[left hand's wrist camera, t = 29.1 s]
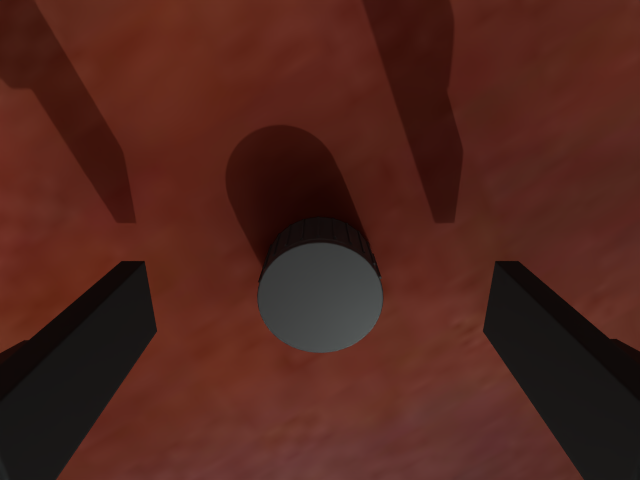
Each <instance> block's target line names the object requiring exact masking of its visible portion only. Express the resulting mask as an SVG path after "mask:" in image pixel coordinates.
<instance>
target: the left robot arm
mask: <svg viewBox="0 0 640 480" xmlns="http://www.w3.org/2000/svg"><path fill="white" fill-rule="evenodd" d="M156 332H157V328H156V323H155V317H154V312H153V306H152V300H151V295H150V289H149V283H148V278H147V272H146V267H145V261H121V262H120V263H119V264H118V265H117V266H115V267H114V268H113V269H112V270H111V271H110V272H108V273H107V274H106V275H105V276H104V277H102V278H101V279H100V280H99V281H98V282H97V283H95V284H94V285H93V286H92V287H91V288H90V289H88V290H87V291H86V292H85V293H84V294H83V295H81V296H80V297H79V298H78V299H77V300H76V301H74V302H73V303H72V304H71V305H70V306H68V307H67V308H66V309H65V310H64V311H63V312H61V313H60V314H59V315H58V316H57V317H56V318H54V319H53V320H52V321H51V322H50V323H49V324H47V325H46V326H45V327H44V328H43V329H42V330H40V331H39V332H38V333H37V334H36V335H34V336H33V337H32V338H31V339H30V340H24V341H22V342H20V343H18V344H17V345H15V346H13V347H11V348H9V349H7V350H5V351H4V352H2V353H0V480H56V479H57V477H58V476H59V474H60V473H61V471H62V470H63V468H64V467H65V466H66V464H67V463H68V461H69V460H70V458H71V457H72V455H73V454H74V452H75V451H76V449H77V448H78V446H79V445H80V444H81V442H82V441H83V439H84V438H85V436H86V435H87V433H88V432H89V430H90V429H91V427H92V426H93V424H94V423H95V422H96V420H97V419H98V417H99V416H100V414H101V413H102V411H103V410H104V408H105V407H106V405H107V404H108V402H109V401H110V400H111V398H112V397H113V395H114V394H115V392H116V391H117V389H118V388H119V386H120V385H121V383H122V382H123V380H124V379H125V377H126V376H127V375H128V373H129V372H130V370H131V369H132V367H133V366H134V364H135V363H136V361H137V360H138V358H139V357H140V355H141V354H142V353H143V351H144V350H145V348H146V347H147V345H148V344H149V342H150V341H151V339H152V338H153V336H154V335H155V333H156ZM483 332H484V333H485V335H486V336H487V338H488V339H489V341H490V342H491V344H492V345H493V347H494V348H495V350H496V351H497V353H498V354H499V355H500V357H501V358H502V360H503V361H504V363H505V364H506V366H507V367H508V369H509V370H510V372H511V373H512V375H513V376H514V377H515V379H516V380H517V382H518V383H519V385H520V386H521V388H522V389H523V391H524V392H525V394H526V395H527V397H528V398H529V399H530V401H531V402H532V404H533V405H534V407H535V408H536V410H537V411H538V413H539V414H540V416H541V417H542V419H543V420H544V422H545V423H546V424H547V426H548V427H549V429H550V430H551V432H552V433H553V435H554V436H555V438H556V439H557V441H558V442H559V444H560V445H561V446H562V448H563V449H564V451H565V452H566V454H567V455H568V457H569V458H570V460H571V461H572V463H573V464H574V466H575V467H576V468H577V470H578V471H579V473H580V474H581V476H582V477H583V479H584V480H640V351H638V350H636V349H634V348H632V347H630V346H628V345H626V344H625V343H623V342H621V341H619V340H617V339H609V338H608V337H607V336H606V335H604V334H603V333H602V332H601V331H600V330H598V329H597V328H596V327H595V326H594V325H593V324H591V323H590V322H589V321H588V320H587V319H586V318H584V317H583V316H582V315H581V314H580V313H579V312H577V311H576V310H575V309H574V308H573V307H572V306H570V305H569V304H568V303H567V302H566V301H564V300H563V299H562V298H561V297H560V296H559V295H557V294H556V293H555V292H554V291H553V290H552V289H550V288H549V287H548V286H547V285H546V284H545V283H543V282H542V281H541V280H540V279H539V278H538V277H536V276H535V275H534V274H533V273H532V272H530V271H529V270H528V269H527V268H526V267H525V266H523V265H522V264H521V263H520V262H519V261H495V267H494V272H493V278H492V284H491V289H490V295H489V300H488V306H487V312H486V317H485V323H484V328H483Z"/></svg>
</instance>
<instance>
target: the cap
mask: <svg viewBox="0 0 640 480" xmlns="http://www.w3.org/2000/svg"><path fill="white" fill-rule="evenodd" d="M380 279H381V275H380V272H379V269H378V266H377V263H376V260H375V257H374V254H372V252H371V249H370V246H369V243H368V241H367V242H366V240H365V239H364V238H363V236H362V235H361V234H360V232H359V231H357V230H355V229H354V228H353V227H351V226H350V225H348V223H344V222H342V221H339V220H336V219H334V218H326V217H316V218H309V219H302V220H301V221H299V222H296V223H294V224H292V225H289V227H288V228H286V229H285V230H284V231H283V232H282V233H281V234H280V233H279V234H278V236H277V238H276V240H275V241H274V243H273V244H271V245H270V248H269V251H268V254H267V257H266V259H265V262H264V266H263V269H262V272H261V275H260V278H259V281H258V282H259V287H258V294H257V298H258V307H259V311H260V314H261V317H262V319H263V321H264V323H265V324H266V326H267V327H268V329H269V330H270V331H271V332H272V333H273V334H274V335H275V336H276V337H277V338H278V339H280V340H281V341H283V342H284V343H286V344H288V345H290V346H292V347H294V348H297V349H299V350H303V351H308V352H317V353H324V352H333V351H338V350H341V349H344V348H347V347H349V346H351V345H353V344H355V343H356V342H358V341H359V340H361V339H362V338H363V337H365V336H366V335H367V334H368V333H369V332H370V330H371V329H372V328H373V327H374V325H375V324H376V322H377V320H378V318H379V316H380V313H381V310H382V306H383V289H382V284H381V281H380Z"/></svg>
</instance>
